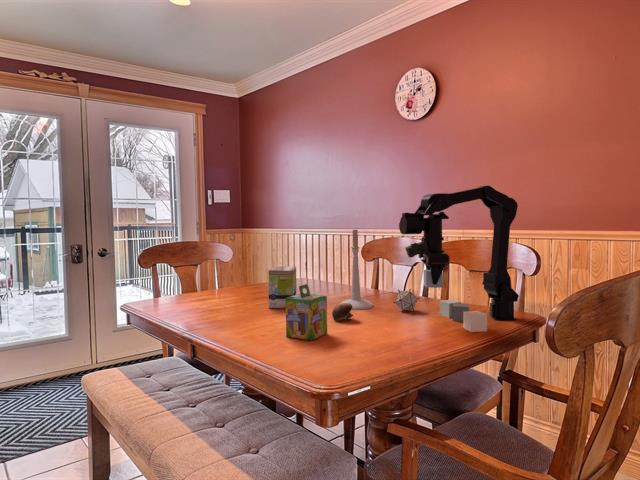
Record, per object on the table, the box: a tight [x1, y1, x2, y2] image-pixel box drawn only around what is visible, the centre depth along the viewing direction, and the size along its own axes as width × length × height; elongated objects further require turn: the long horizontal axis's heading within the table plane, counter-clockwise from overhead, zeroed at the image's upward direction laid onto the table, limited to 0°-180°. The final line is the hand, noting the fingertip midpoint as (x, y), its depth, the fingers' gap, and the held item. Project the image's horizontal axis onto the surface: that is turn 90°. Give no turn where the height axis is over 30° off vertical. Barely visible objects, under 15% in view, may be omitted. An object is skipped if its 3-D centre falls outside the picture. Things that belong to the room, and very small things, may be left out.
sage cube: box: [439, 299, 462, 319], centre depth 145 cm, size 5×5×5 cm
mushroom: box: [331, 302, 354, 321], centre depth 141 cm, size 8×8×6 cm
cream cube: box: [462, 310, 488, 333], centre depth 127 cm, size 5×5×5 cm
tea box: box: [268, 265, 297, 309], centre depth 169 cm, size 15×10×15 cm
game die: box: [392, 288, 421, 313], centre depth 153 cm, size 9×8×10 cm
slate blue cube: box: [423, 269, 444, 289], centre depth 134 cm, size 5×5×5 cm
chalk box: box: [285, 283, 328, 341], centre depth 123 cm, size 9×9×15 cm
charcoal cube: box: [452, 302, 470, 323], centre depth 139 cm, size 5×5×5 cm
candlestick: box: [339, 229, 374, 311], centre depth 162 cm, size 13×13×30 cm
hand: (433, 283), depth 134 cm, fingers closed on slate blue cube, 5 cm apart
